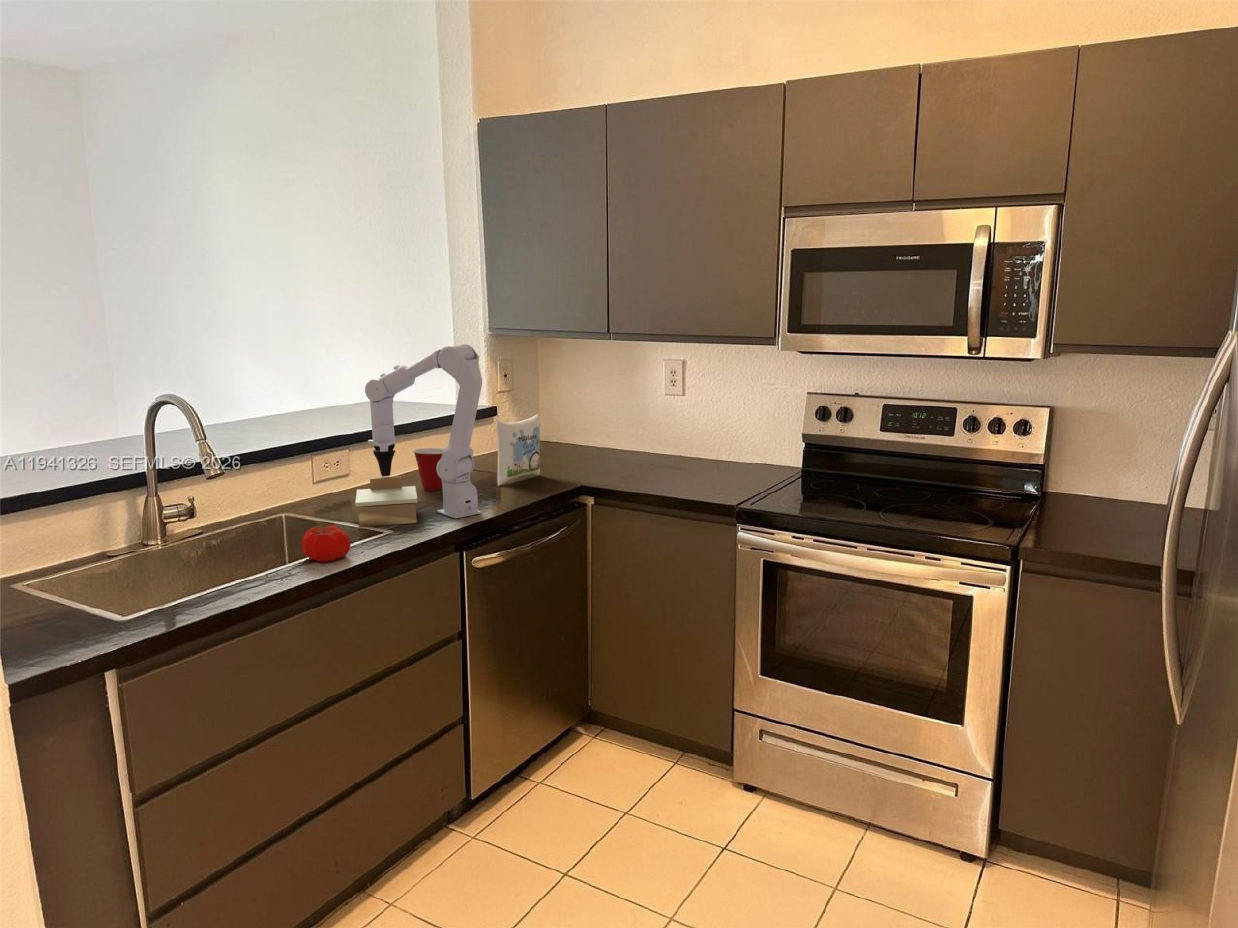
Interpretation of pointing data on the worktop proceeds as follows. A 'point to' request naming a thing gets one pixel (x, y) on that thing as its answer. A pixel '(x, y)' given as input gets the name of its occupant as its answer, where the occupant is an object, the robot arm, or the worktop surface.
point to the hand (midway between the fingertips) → (385, 473)
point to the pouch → (518, 448)
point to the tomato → (325, 543)
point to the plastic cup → (429, 467)
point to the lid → (386, 492)
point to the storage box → (387, 514)
